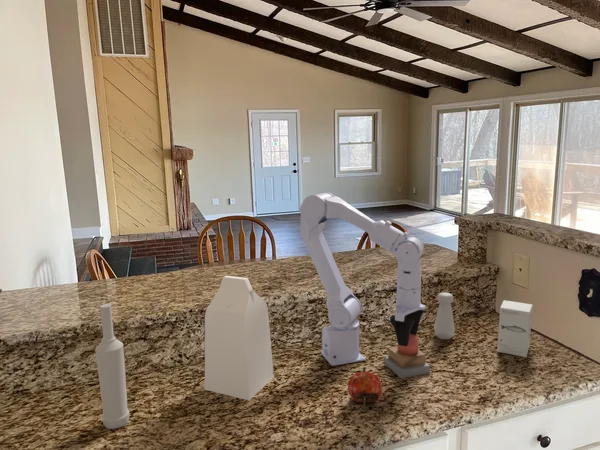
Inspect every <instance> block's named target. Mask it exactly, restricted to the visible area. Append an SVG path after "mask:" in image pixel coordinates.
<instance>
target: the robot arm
mask: <svg viewBox="0 0 600 450" xmlns="http://www.w3.org/2000/svg"><path fill="white" fill-rule="evenodd" d="M298 212H299V214H300V225H299V228H300V229H299V231H300V232H299V233H300V236H301V237H302V239H303V241H304V245H305V246H306V249H307V252H308V254H309V257H310V258H311V261H312V263H313V265H314V267H315V270H316V272H317V274H318V277H319V278H320V282H321V284H322V287H323V288H324V291H325V292H326V302H325V305H326V309H327V313H328V315H327V316H328V322H329V323H330V325H328V326H326V327H323V328H322V330H321V349H322V350H321V352H320V354H321V355H322V356H323V357H324V359H325V360H326V361H327V362H328V363H329V364H330V366H333V367H334V366H340V365H341V366H342V365H345V364H346V365H347V364H350V363H357V362H363V361H365V360H366V357H364V355H362V353H360V322H359V317H358V316H360V314H361V313H362V308H363V307H362V303H361V300H360V299H358V297H356V296H355V295H354V293H353V290H352V289H351V288H350V287H348V286H347V285H346V283H345V281H344V279H343V276H342V274H341V271H340V270H339V268H338V265H337V263H336V261H335V259H334V258H335V257H334V256H333V253H332V251H331V249H330V247H329V244H328V242H327V240H326V238H325V235H324V233H323V230H324V227H325V225H326V223H327V221H328V220H329V219H342V220H344V221H346V222H347V223H349V224H351V225H353V226H355V228H356V227H357V228H358V229H360V230H361V231H364V232H366V233H367V234H368V238H369V240H370V241H372V243H375V244H376V245H378V246H380V247H381V248H383V249H385V250H386V251H388V252H389V253H391V254H394V256H395V258H396V260H397V268H396V302H395V312H394V314H392V315H391V316H390V317H389V320H390V323H391V324H392V327H393V329H394V333H395V336H396V340H397V346H398V345H401V346H407V345H408V342H409V337H410V334H414V335H416V336H417V333H418V331H419V326H420V322H421V319H422V317H423V314H424V312H425V310H426V305H425V304H422V303H421V301H422V299H421V297H422V293H421V292H422V257H421V256H422V255H423V253H424V247H425V246H424V243H423V242H422V240H421V239H420V238H419V237H417V236H416V235H410V233H408V232H407V231H405V232H404V231H402V230H400V229H398V228H397V227H394V226H393V225H392V221H389V220H386V221H384V220H383V219H381V220H376V221H375V220H373V219H372V218H370V217H369V216H368V215H366V214H365V213H363V212H362V211H360V210H359V209H357V208H355V207H354V206H352V205H351V204H350V203H348V202H347V201H345V200H344V199H342V197H339V196H337V195H334V194H333V193H331V192H328V191H323V192H320V193H317V194H310V195H308V196H307V197H305V198H304V199H303V201H302V203H301V205H300V207H299V209H298Z"/></svg>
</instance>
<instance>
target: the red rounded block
mask: <svg viewBox="0 0 600 450" xmlns="http://www.w3.org/2000/svg"><path fill="white" fill-rule="evenodd" d="M419 341H420V339H419V336H418V335H417V334H416V335H414V334H410V337H409V342H408V345H407V346H401V345H398V344H397V346H398V352H399V353H401V354H403V355H409V356H411V355H416V354H418V349H419Z"/></svg>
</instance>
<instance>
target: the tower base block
mask: <svg viewBox="0 0 600 450" xmlns="http://www.w3.org/2000/svg"><path fill="white" fill-rule="evenodd" d="M384 364H385V366H387V367H388V368H389V369H390V370H391V371H392V372H393V373H395V375H397V377H399V379H403V378H404V379H405V378H409V377H410V378H411V377H414V376H419V375H426V374H430V372H431V370H430V369H431V366H430V365H429V364H428V363H427V362H426V361H425V364H422V365H417V366H412V367H407V368H403V369H402V368H401V367H400V366H399V365H397V364H396V363H395V362H394V361H392V360H391V359H390V358H389V357H388V356H385V357H384Z"/></svg>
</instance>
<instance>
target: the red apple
mask: <svg viewBox="0 0 600 450" xmlns="http://www.w3.org/2000/svg"><path fill="white" fill-rule="evenodd" d="M366 369H367V368H366V367H365V366H364V367H362V372H356V373H355V374H353V375H351V376H350V378H349V380H348V383H347V392H348V393H349V396H350V397H351V399H352V400H353V401H354V402H356V403H363V413H365V412H366V408H365V407H366V402H368V403H376V402H378V400H379V399H380V397H381V396H382V394H383V389H384V388H383V385H382V382H381V380H380V378H379V376H377V375H376V374H375V373H372V372H370V371H367V370H366Z"/></svg>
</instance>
